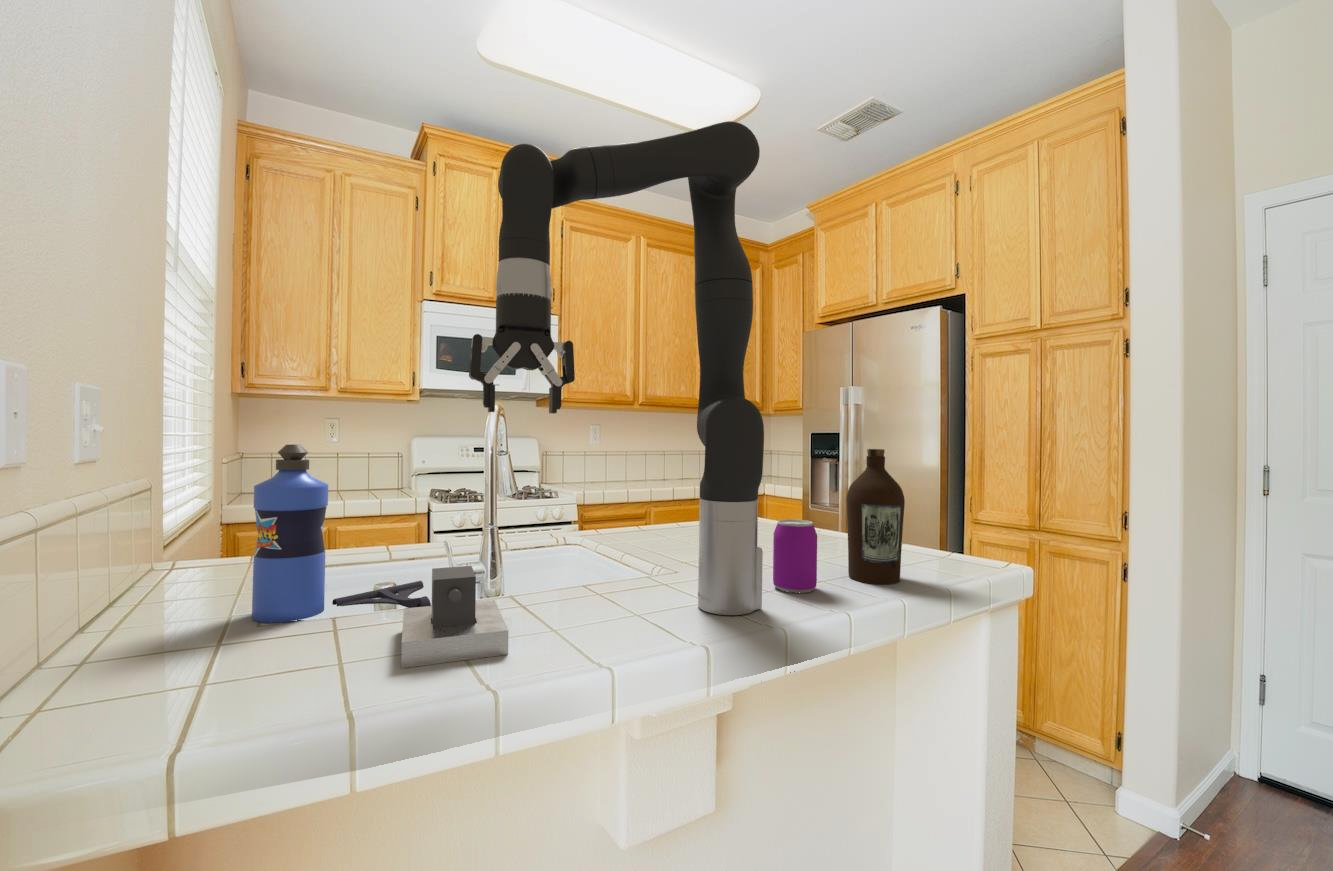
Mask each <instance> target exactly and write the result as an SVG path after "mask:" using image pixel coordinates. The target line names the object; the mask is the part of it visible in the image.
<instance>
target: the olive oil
mask: <svg viewBox="0 0 1333 871" xmlns="http://www.w3.org/2000/svg"><path fill="white" fill-rule="evenodd" d="M866 450H867V451H866V453H867V456H865V457H866V468H865V469H864V471H863V472H862V473H860V474H859V476H857V478H855V479H854V481H853V482H852V483H851V484H850V485H849V487H848V491H847V494H846V502H845V503H846V519H847V520H846V523H847V524H846V526H847V527H846V528H847V551H848V552H847V553H848V556H847V558H848V560H847V561H848V564H847V565H848V569H847V570H848V577H849V578H850V579H851V580H854V581H857V580H858V581H857V582H860V581H861V583H865V582H867V583H866V584H872V583H875V584H874V585H892V583H893V584H897V583H899V582H900V580H901V567H902V566H901V564H902V547H903V544H902V543H903V532H904V531H903V529H904V528H903V527H904V518H905V506H906V505H905V495H904V492H903V489H902V486H900V484H899V483H898V482H897V481H896V480H895V478H893V476H892V475H891V474H890V473H889V472H888V470H886V468H885V466H886V457H885V449H884V448H867V449H866Z"/></svg>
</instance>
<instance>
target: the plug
mask: <svg viewBox="0 0 1333 871" xmlns="http://www.w3.org/2000/svg"><path fill="white" fill-rule="evenodd" d="M476 579H477V576H476V574H475V571H474V568H473V566H472V565H466V566H465V565H462V566H451V567H435V568H434V567H433V568H431V606H432V624H433V628H442V627H451V626H461V625H470V624H475V603H476V602H477V601H476V597H477V596H476V594H477V593H476V591H477V589H476V587H477V585H476V583H477V582H476V581H477V580H476Z"/></svg>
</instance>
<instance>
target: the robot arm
mask: <svg viewBox="0 0 1333 871" xmlns="http://www.w3.org/2000/svg"><path fill="white" fill-rule="evenodd" d="M760 150H761V149H760V144H759V142H758V139H757V137H756V135H755V134H754V133H753V131H752V130H751V129H750V128H749V127H747V126H746V125H744V124H743V123H740V122H737V121H732V120H731V121H730V120H729V121H723V122H722V121H721V122H718V123H713V124H710V125H707V126H704V127H700V128H696V129H694V130H690V131H686V132H685V131H684V132H682V133H677V134H673V135H668V136H664V137H663V136H662V137H658V138H653V139H647V140H642V141H641V140H640V141H634V142H625V143H617V144H605V145H591V146H580V147H575V148H572V149H569V150H568V151H566V152H565V153H564V154H563V155H562V156H561V157H559V158H556V159H552V160H551V159H550V158H549V156H548V155H547V154H546V153H545V151H544V150H543V149H541V148H540V147H539V146H536V145H534V144H532V143H531V144H530V143H518V144H516V145H514V146H512V147H511V148H510V149H508V151H507V152H506V153H505V154H504V157H503V158H502V160H501V165H500V171H499V175H498V186H497V187H498V193H499V196H500V198H501V206H502V207H501V211H502V213H501V223H500V227H499V233H498V234H499V236H498V263H497V264H498V267H497V271H496V272H497V273H496V280H495V281H496V285H495V287H496V290H495V292H496V293H495V333H494V336H493V337H489V336H482V335H481V334H479V333H476V334H474V335H473V336H472V339H471V345H470V358H469V370H468V371H469V372H468V376H469V377H468V378H470V379H471V380H472V381H473V380H474V381H477V382H480V383H481V385H482V405H483V408H484V409H487V412H488V413H495V410H496V407H495V406H496V384H494V381H495V380H496V378H497V377H498V376H499V375H500V373H501V372H502V371H503V370H504V369H505V368H506V367H507V368H509V369H510V370H515V371H517V370H520V369H522V370H525V371H534V370H538V371H539V372H540V374H541V375H542V376H543V377H544V378H545V379H546V380H547V382H548V384H549V385H550V387H549V388H548V389H549V390H548V392H549V394H548V413H549V414H551V415H552V414H557V412H558V410H560V409H561V407H562V389H563V386H565V385H568V384H570V383H573V382H575V378H576V377H575V376H576V375H575V360H574V359H575V355H574V352H575V351H574V343H573V342H572V340H567V341H563V342H561V341H556V342H555V341H554V340H553V338H552V328H551V327H552V297H553V290H552V276H551V267H550V266H551V240H550V239H551V238H550V226H551V225H550V222H551V219H552V218H551V217H552V209H553V210H554V209H556V208H559V207H563V206H566V205H569V204H571V203H575V202H577V201H578V202H579V201H583V200H584V201H585V200H587V201H588V200H589V201H590V200H597V199H606V198H615V197H621V196H626V195H628V194H629V195H630V194H633V193H637V192H639V191H643V190H647V189H649V188H652V187H655V186H657V185H660V184H663V183H667V182H671V181H674V180H680V179H685V178H687V182H688V189H689V195H690V196H689V197H690V206H691V210H692V219H693V220H692V221H693V234H694V235H693V253H694V254H693V256H694V301H695V302H694V303H695V304H694V306H695V319H696V320H695V322H696V336H697V338H696V339H697V348H698V350H697V351H698V358H699V359H698V360H699V391H698V403H697V404H698V405H697V417H696V431H697V432H696V433H697V435H698V437H699V440H700V442H701V444H702V445H703V446H704V468H703V474H702V477H701V480H700V482H699V506H698V507H699V513H698V516H699V520H698V521H699V522H698V526H699V527H698V528H699V529H698V576H697V578H698V584H697V585H698V586H697V607H698V608H699V609H700V610H702V611H704V612H707V613H709V614H715V615H720V616H722V615H723V616H741V615H747V614H751V613H753V612H754V611H756V610H762V608H763V606H762V605H763V554H764V553H763V552H764V551H763V549H762V547H760V546H758V533H759V532H758V527H759V526H758V524H759V520H758V518H759V516H758V515H759V514H758V513H759V511H758V509H759V508H758V507H759V500H758V499H759V488H760V486H761V482H762V479H763V478H762V477H763V470H764V469H763V468H764V452H765V448H764V447H765V446H764V445H765V426H764V420H763V415H762V414H761V411H760V410H759V408H758V407H757V406H756V405H755V404H754V403H753V402H752V401H750V400H749V399H746V393H745V381H744V367H745V359H746V354H747V349H748V344H749V340H750V336H751V329H752V324H753V314H754V289H753V287H754V285H753V275H752V269H751V265H750V262H749V259H748V257H747V254H746V253H745V250H744V248H743V246H742V243H741V241H740V238H739V237H738V233H737V226H736V211H735V210H736V192H737V188H738V187H739V186H740V185H742V184H743V183H744V182H745V181H746V180H747V179H748V178H750V176H751V175H752V173H753V172H754V171H755V170H756V167H757V166H758V163H759V160H760ZM489 346H492V348H493V350H494V351H495V352H496V354H497V356H499V358H498V359H497V361H496V362H495V363H494V364H493V365H492V367H490V369H489V370H488V372H487V373H485V372H484V371H481V364H482V363H481V362H482V353H485V352H487V350H488V347H489ZM553 351H555V352H556V353H557V356H558V357H559V358H561V369H562V370H561V371H562V372H561V373H562V376H559V374H558V373H557V371H556V370H555V368H554V365H552V363H551V361H550V360H549V359H548V358H549V356H550V355H551V353H552V352H553Z"/></svg>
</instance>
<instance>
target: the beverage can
mask: <svg viewBox="0 0 1333 871" xmlns="http://www.w3.org/2000/svg"><path fill="white" fill-rule="evenodd" d="M772 547H773V550H772V551H773V552H772V554H773V558H772V562H773V563H772V581H773V582H772V584H773V586H774V587H775V588H776V589H777V588H778V589H777V590H779V589H780V590H779V591H781V590H783V591H782V592H784V591H788V592H797V593H796V594H804V593H803V592H808V593H810V592H809V591H811V592H812V591H813V590H814V589H816V587H817V582H818V580H817V579H818V578H817V576H818V572H817V571H818V534H817V531H816V528H815V525H814V522H813V521H811V520H806V519H795V518H792V519H789V518H788V519H787V518H786V519H779V520H778V521H777V523H776V526H775V529H774V531H773V546H772ZM788 592H787V593H788ZM799 592H800V593H799Z"/></svg>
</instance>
